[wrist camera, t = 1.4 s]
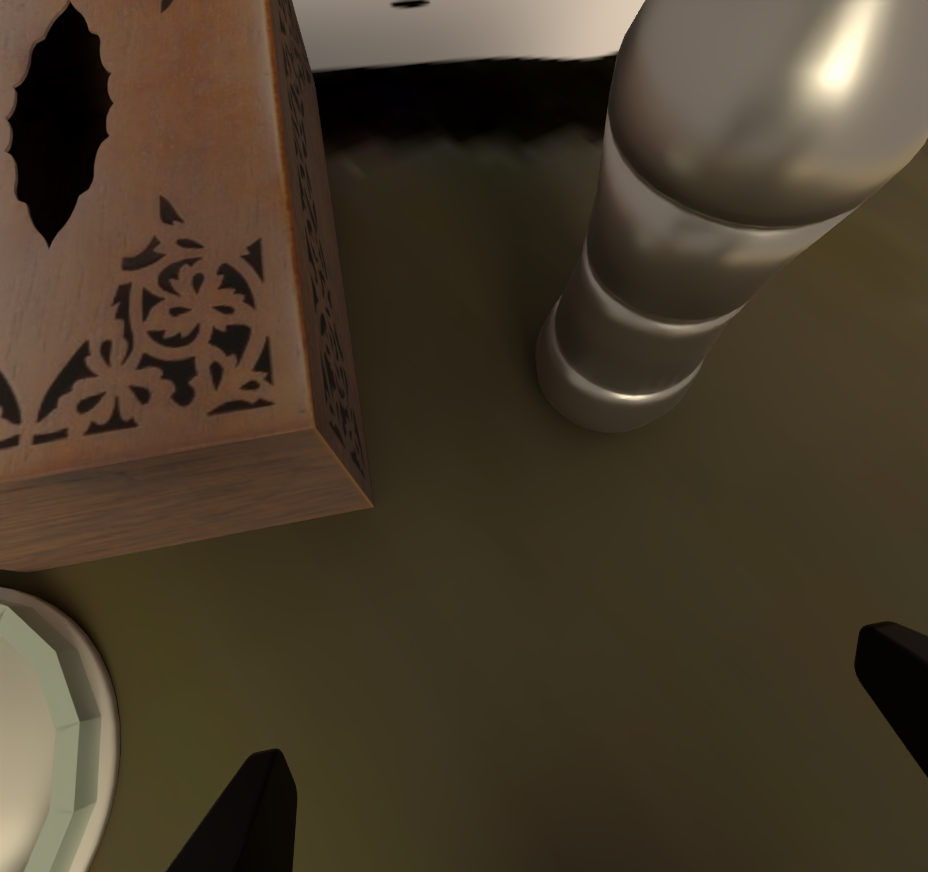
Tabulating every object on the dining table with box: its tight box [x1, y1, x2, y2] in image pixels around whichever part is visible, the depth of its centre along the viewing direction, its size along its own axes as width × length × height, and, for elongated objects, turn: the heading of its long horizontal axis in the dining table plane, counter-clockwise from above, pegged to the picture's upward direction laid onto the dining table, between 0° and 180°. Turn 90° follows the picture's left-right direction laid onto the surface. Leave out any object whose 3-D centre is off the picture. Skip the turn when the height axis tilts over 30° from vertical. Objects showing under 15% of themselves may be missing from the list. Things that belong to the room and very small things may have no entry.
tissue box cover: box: [0, 0, 374, 573], centre depth 23 cm, size 26×14×10 cm, turn 11°
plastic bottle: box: [535, 0, 928, 433], centre depth 16 cm, size 6×7×20 cm
